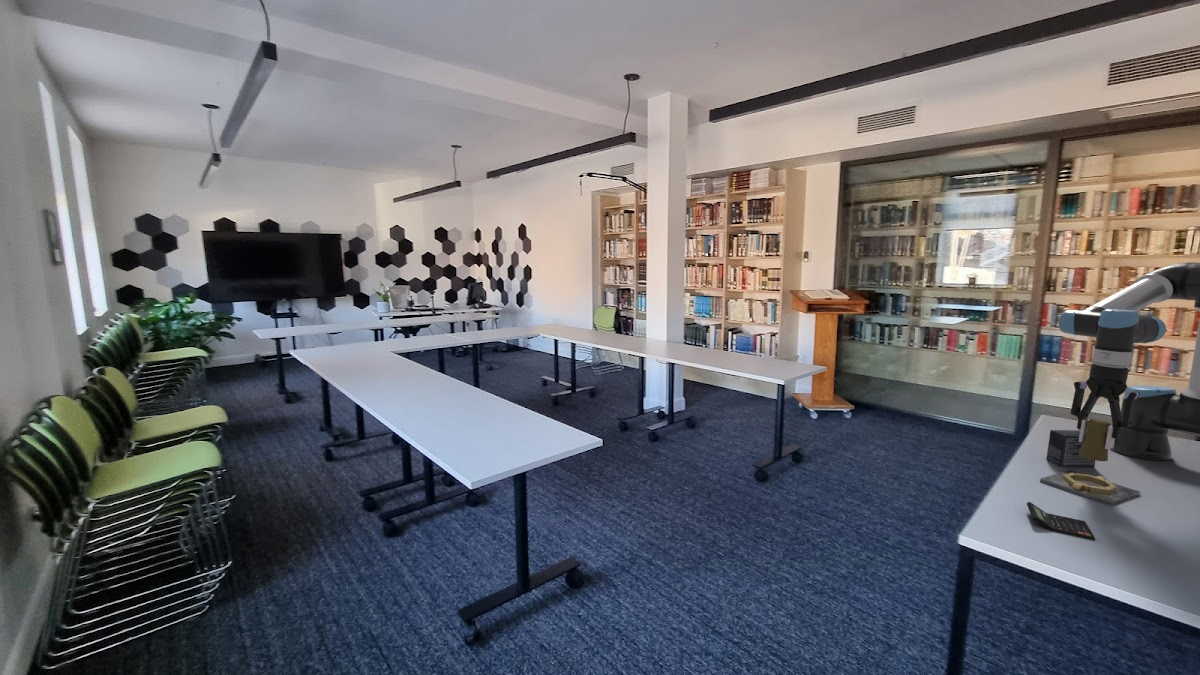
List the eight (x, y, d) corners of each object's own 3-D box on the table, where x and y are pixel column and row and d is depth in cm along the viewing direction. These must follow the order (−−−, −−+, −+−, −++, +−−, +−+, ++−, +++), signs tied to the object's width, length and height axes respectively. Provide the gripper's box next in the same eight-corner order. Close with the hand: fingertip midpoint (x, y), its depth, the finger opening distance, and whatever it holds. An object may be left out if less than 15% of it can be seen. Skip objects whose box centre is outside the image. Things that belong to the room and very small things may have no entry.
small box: (1077, 459, 169) (1082, 429, 168) (1095, 468, 163) (1101, 436, 161) (1044, 459, 170) (1049, 428, 168) (1061, 467, 163) (1066, 435, 161)
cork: (1113, 462, 143) (1120, 424, 142) (1088, 460, 145) (1095, 422, 143) (1097, 454, 149) (1104, 417, 147) (1073, 452, 150) (1079, 416, 149)
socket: (1069, 472, 159) (1070, 466, 159) (1139, 494, 145) (1140, 487, 144) (1040, 481, 153) (1041, 474, 152) (1110, 505, 138) (1111, 498, 138)
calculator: (1094, 541, 121) (1096, 529, 121) (1031, 527, 127) (1033, 516, 127) (1084, 524, 129) (1086, 513, 129) (1025, 511, 135) (1026, 501, 135)
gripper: (1062, 359, 149) (1049, 435, 153) (1148, 373, 133) (1131, 458, 137) (1076, 357, 152) (1063, 432, 156) (1162, 371, 136) (1145, 454, 140)
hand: (1095, 444), depth 146 cm, fingers closed on cork, 5 cm apart
